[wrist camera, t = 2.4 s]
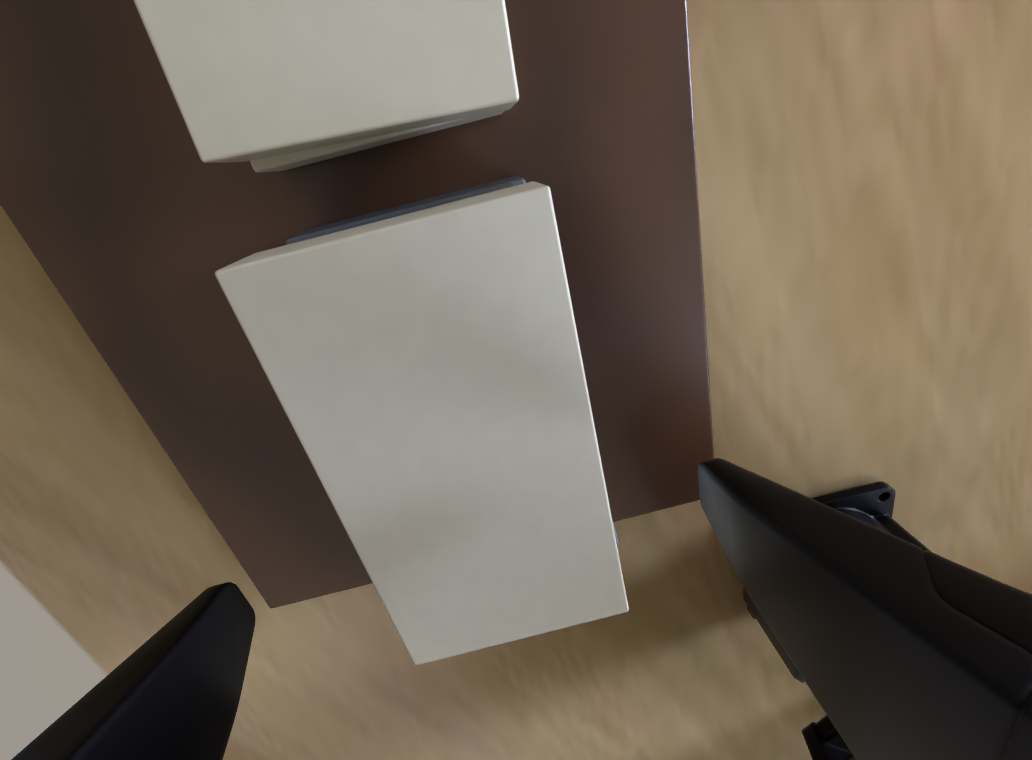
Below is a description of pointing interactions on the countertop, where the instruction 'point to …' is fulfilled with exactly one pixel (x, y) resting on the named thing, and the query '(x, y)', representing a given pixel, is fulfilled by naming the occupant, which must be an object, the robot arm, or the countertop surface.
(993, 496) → the countertop surface
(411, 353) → the cream book
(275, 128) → the white stack
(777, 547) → the robot arm
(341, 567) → the walnut board
